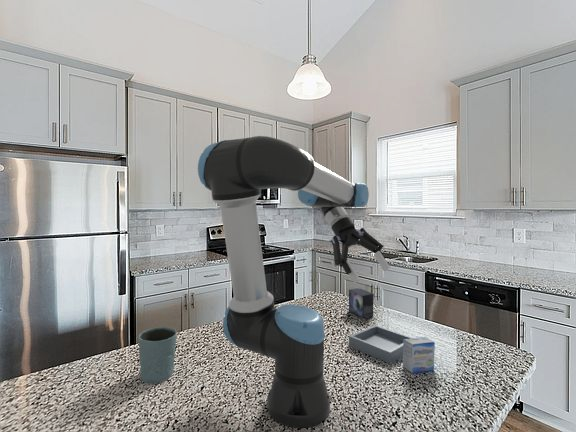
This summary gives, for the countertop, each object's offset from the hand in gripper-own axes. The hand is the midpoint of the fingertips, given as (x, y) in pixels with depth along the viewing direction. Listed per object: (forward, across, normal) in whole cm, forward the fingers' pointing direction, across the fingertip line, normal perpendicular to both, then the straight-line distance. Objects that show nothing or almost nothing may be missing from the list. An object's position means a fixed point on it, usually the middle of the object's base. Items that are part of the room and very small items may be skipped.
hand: (372, 275), depth 103 cm
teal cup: (-1, +66, -25) cm, 71 cm away
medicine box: (+30, -1, -6) cm, 30 cm away
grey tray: (+20, -2, -18) cm, 27 cm away
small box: (+6, -19, -43) cm, 48 cm away
